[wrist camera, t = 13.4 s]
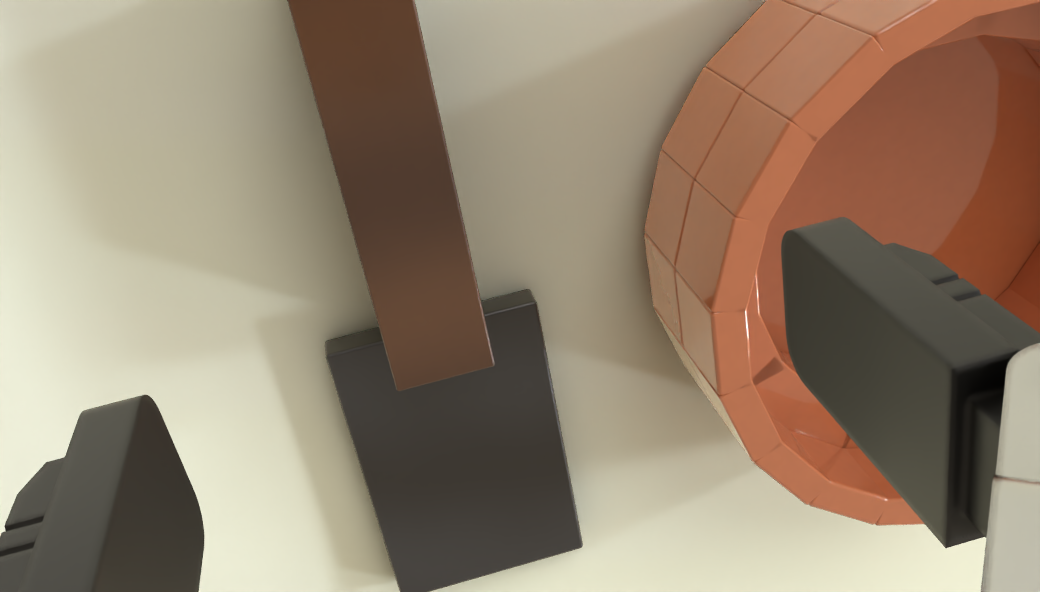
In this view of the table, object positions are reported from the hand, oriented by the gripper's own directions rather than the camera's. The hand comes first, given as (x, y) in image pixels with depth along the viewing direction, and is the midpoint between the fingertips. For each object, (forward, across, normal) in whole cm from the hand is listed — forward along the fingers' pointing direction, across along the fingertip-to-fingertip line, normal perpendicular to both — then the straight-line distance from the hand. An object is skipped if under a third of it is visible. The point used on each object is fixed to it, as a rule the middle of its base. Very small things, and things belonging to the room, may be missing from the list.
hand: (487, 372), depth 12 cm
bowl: (+11, -12, +5) cm, 17 cm away
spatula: (+11, 0, +5) cm, 12 cm away
